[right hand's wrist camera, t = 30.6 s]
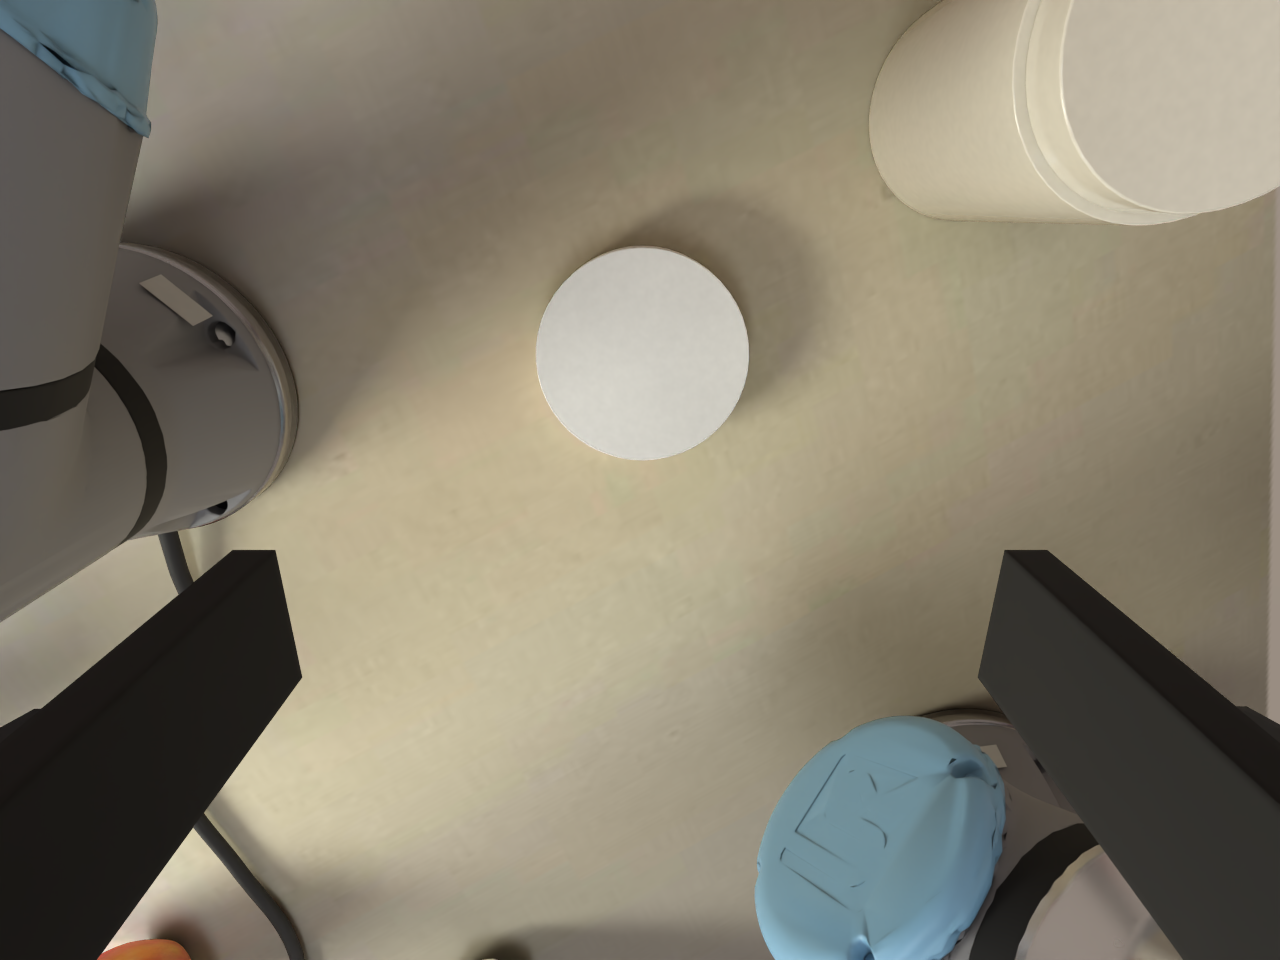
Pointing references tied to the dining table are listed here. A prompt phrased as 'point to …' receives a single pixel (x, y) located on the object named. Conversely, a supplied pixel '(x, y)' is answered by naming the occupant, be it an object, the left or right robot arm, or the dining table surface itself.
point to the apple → (147, 951)
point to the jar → (1081, 110)
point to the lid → (642, 353)
